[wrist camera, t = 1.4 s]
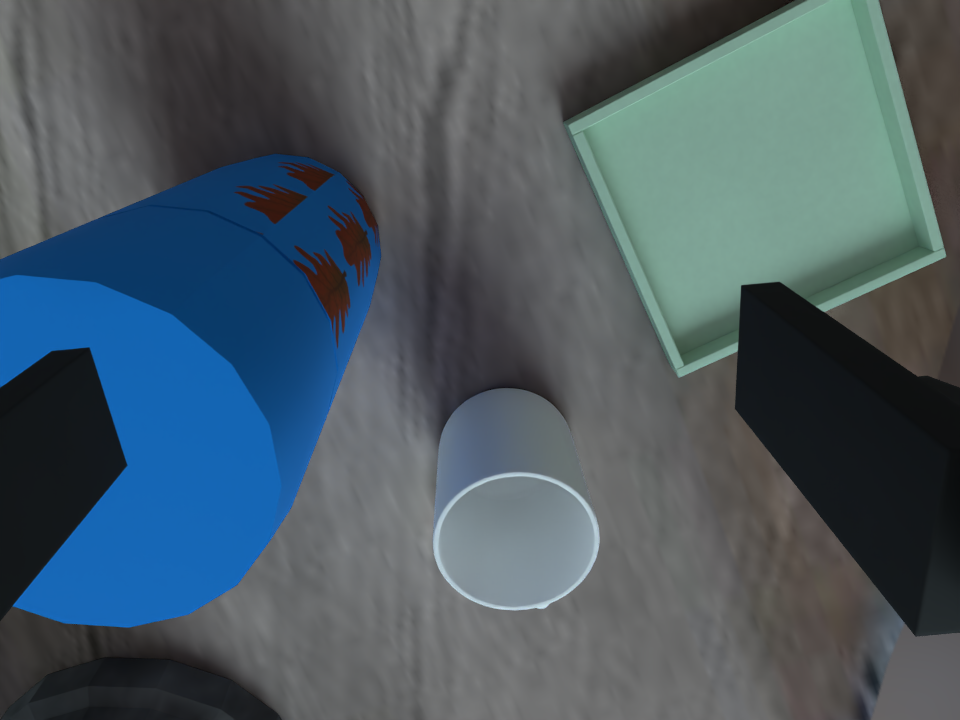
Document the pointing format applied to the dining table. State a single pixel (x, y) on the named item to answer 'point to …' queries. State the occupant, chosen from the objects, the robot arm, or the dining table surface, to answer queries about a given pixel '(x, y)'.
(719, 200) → the tray
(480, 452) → the mug
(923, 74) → the dining table surface
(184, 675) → the bucket
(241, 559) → the thermos
